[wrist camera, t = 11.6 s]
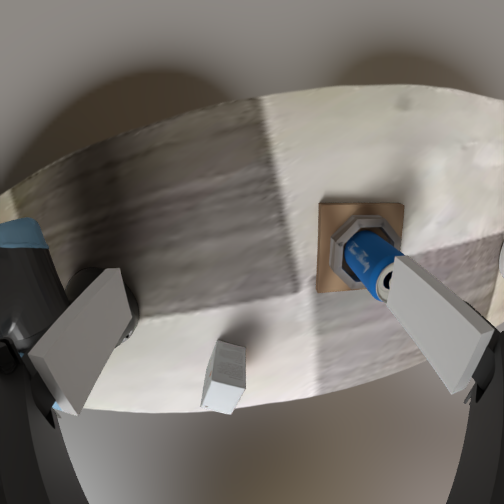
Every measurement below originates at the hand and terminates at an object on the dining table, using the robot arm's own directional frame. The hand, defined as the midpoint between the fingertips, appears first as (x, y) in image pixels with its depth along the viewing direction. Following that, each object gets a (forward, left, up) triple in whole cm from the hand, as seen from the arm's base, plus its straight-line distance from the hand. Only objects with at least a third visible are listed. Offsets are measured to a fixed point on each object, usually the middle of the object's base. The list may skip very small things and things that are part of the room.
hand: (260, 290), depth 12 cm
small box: (-6, -30, -29) cm, 42 cm away
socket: (+17, -9, -29) cm, 34 cm away
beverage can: (+17, -9, -27) cm, 33 cm away
